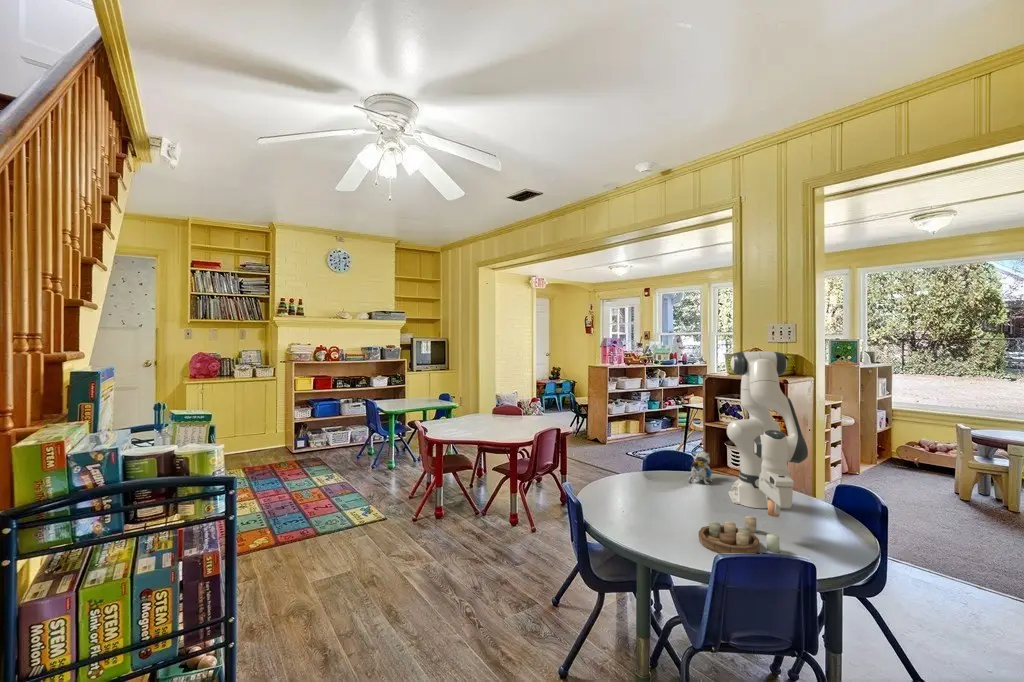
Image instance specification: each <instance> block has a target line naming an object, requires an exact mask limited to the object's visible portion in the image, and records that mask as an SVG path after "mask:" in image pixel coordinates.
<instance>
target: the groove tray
mask: <svg viewBox="0 0 1024 682" xmlns="http://www.w3.org/2000/svg"><path fill="white" fill-rule="evenodd" d="M698 540H699V543H700V545H702V546H703V547H704V548H705V549H708V550H710V551H712V552H715V553H717V554H720V553H756V554H758V553H759V552H760V539H759V537H757V536H756V535H755V533H750V529H748V528H746V527H745V526H738V527H737V526H736V523H735V522H732V521H725V522H723V525H722V524H721V523H720V522H717V521H710V522H708V525H706V526H702V527H701V528H700V530H698ZM757 552H758V553H757Z"/></svg>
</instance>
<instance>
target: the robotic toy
mask: <svg viewBox="0 0 1024 682" xmlns="http://www.w3.org/2000/svg"><path fill="white" fill-rule="evenodd" d="M692 458H693V460H692V465H691V466H690V469H691V471H690V477H688V483H691V482H692V480H696V481H698V480H699V481H703V483H704V485H710V482H713V479H712V478H711V477H712V475H713V473H712V469H711V468H710V466H709V464H710V462H711V458H710V452H705V451H704V450H699V451H696V452H695V456H694V455H692ZM689 462H691V460H689ZM689 462H686V463H685V464H686V465H687V463H689ZM707 480H708V481H707Z"/></svg>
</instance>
